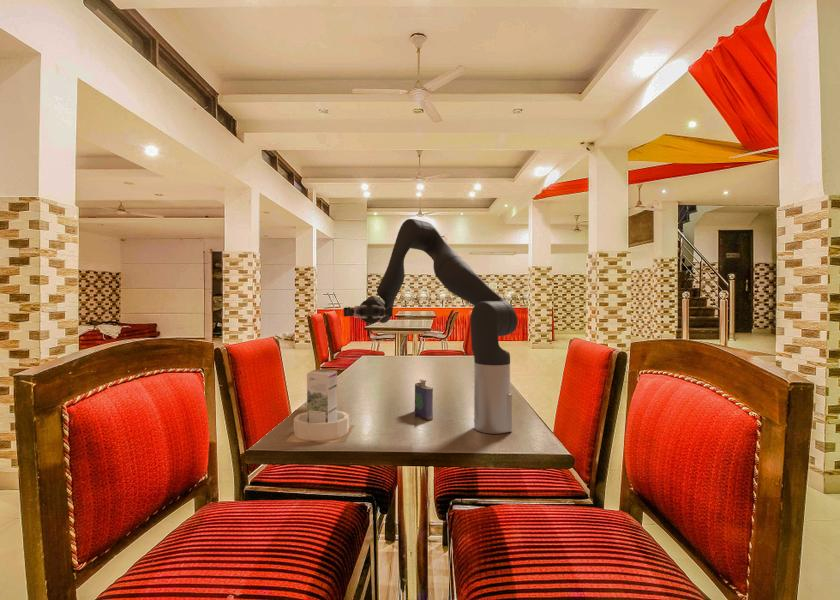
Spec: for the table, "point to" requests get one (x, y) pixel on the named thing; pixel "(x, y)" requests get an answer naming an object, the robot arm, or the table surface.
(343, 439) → the placemat
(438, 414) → the table surface
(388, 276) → the robot arm
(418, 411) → the flask
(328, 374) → the syrup box
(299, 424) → the bowl
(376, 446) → the table surface
